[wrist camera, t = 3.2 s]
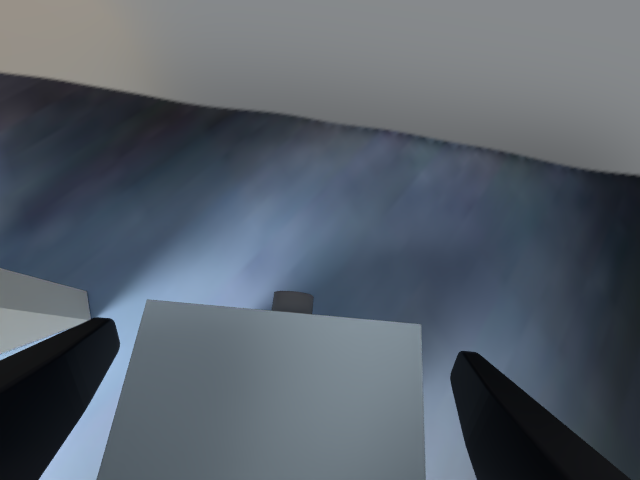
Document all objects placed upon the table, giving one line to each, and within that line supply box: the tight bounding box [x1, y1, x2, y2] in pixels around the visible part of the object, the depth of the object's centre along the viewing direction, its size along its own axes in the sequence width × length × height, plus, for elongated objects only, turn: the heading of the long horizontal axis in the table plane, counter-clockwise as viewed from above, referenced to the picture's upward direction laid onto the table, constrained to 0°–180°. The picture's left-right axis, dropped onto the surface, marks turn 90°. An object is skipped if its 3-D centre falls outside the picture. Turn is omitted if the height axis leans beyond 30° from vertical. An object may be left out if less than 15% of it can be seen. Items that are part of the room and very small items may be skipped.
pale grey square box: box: [97, 291, 426, 480], centre depth 10 cm, size 5×6×8 cm
